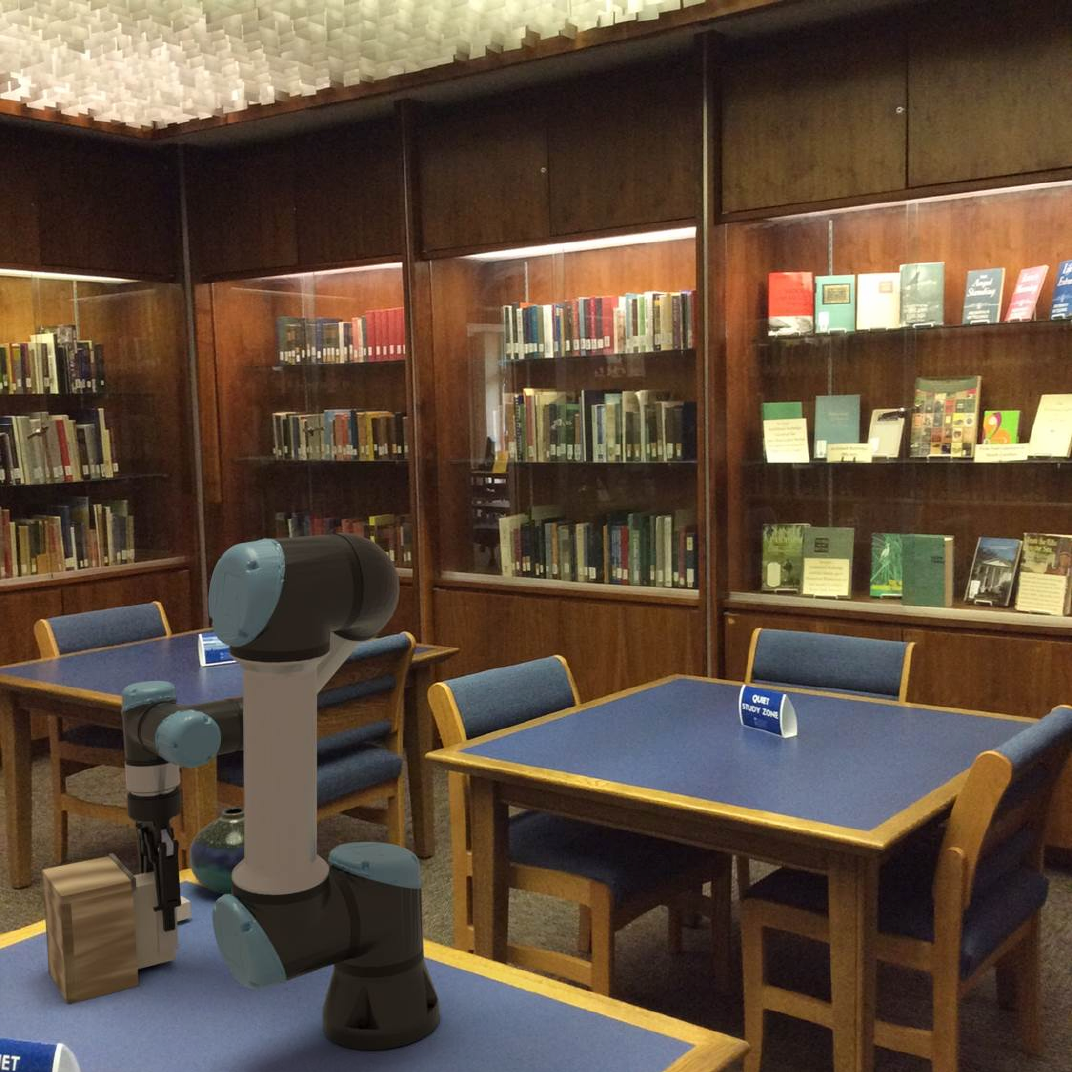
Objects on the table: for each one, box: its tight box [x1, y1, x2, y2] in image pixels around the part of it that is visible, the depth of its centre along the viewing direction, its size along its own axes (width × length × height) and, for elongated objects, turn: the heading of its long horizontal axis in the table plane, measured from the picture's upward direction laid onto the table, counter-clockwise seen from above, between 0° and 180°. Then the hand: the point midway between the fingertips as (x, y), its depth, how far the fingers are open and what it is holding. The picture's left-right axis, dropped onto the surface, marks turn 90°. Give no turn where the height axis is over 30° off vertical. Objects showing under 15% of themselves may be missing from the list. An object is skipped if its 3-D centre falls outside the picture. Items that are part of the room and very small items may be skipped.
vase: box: [188, 806, 244, 895], centre depth 209 cm, size 15×15×13 cm
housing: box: [41, 852, 139, 1005], centre depth 175 cm, size 13×10×16 cm
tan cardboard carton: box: [133, 871, 176, 970], centre depth 179 cm, size 5×10×12 cm, turn 123°
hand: (162, 943), depth 181 cm, fingers closed on tan cardboard carton, 5 cm apart
